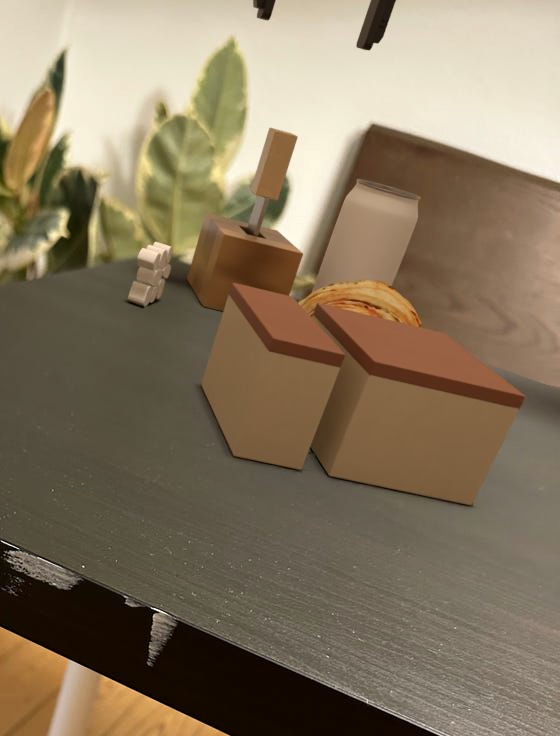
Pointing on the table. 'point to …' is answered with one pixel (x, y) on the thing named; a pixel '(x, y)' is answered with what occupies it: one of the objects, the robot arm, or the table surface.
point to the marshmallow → (151, 273)
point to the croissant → (364, 301)
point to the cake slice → (269, 376)
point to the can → (369, 235)
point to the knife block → (240, 261)
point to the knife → (270, 174)
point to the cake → (410, 409)
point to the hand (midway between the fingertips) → (313, 34)
